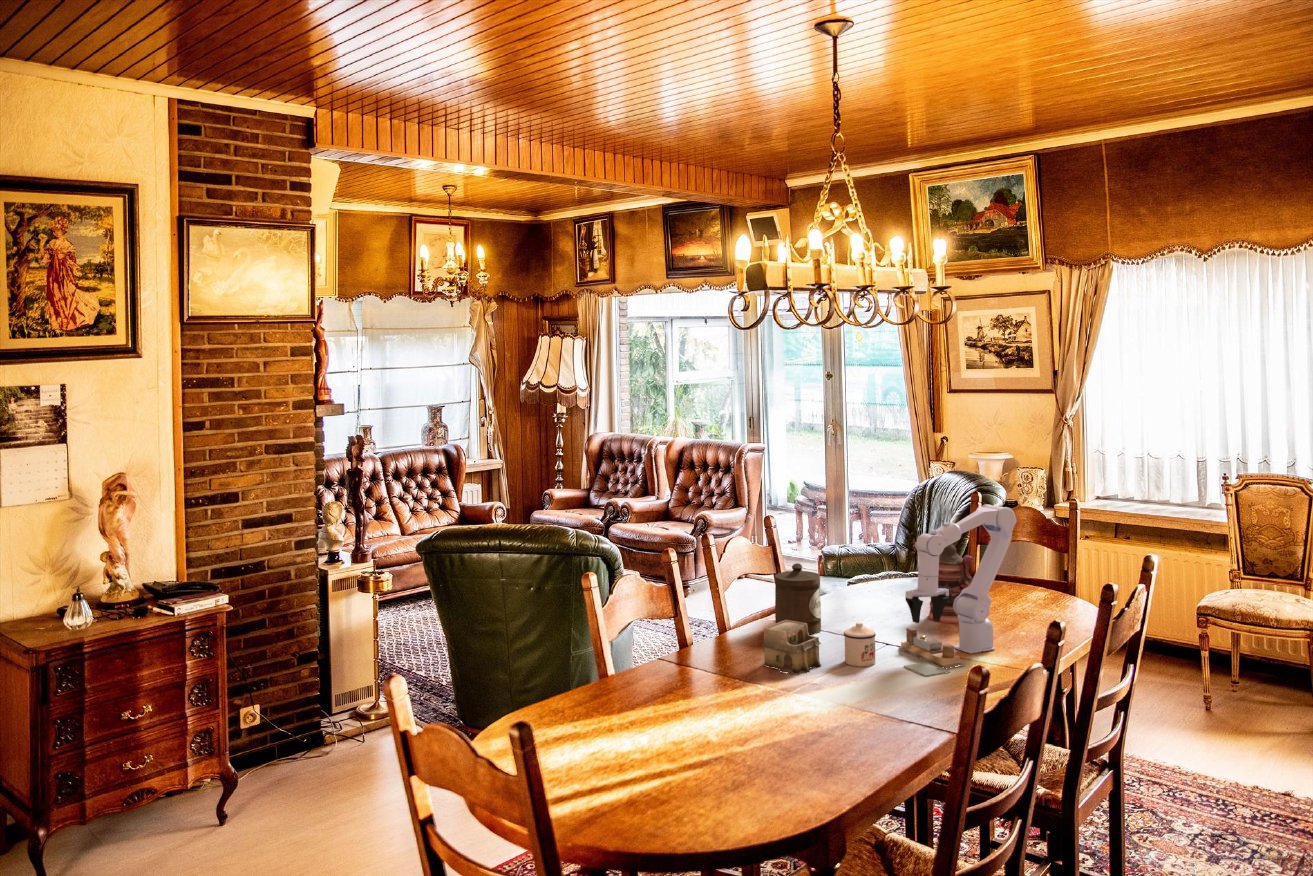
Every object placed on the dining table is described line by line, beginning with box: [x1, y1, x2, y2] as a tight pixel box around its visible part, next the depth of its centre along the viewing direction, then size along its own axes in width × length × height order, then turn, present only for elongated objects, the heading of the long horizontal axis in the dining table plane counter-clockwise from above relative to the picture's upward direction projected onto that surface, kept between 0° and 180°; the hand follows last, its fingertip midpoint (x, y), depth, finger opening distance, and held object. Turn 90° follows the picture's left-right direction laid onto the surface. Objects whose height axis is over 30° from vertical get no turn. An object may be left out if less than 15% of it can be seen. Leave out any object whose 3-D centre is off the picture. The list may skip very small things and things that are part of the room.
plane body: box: [898, 627, 964, 670], centre depth 288 cm, size 22×6×6 cm, turn 22°
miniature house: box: [761, 620, 822, 675], centre depth 285 cm, size 15×14×11 cm
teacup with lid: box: [843, 621, 876, 668], centre depth 286 cm, size 12×9×12 cm
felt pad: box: [903, 661, 950, 677], centre depth 277 cm, size 8×10×1 cm
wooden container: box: [774, 562, 822, 635], centre depth 323 cm, size 15×15×22 cm
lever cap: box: [913, 634, 943, 652], centre depth 289 cm, size 8×4×3 cm, turn 22°
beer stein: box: [926, 543, 974, 624], centre depth 330 cm, size 17×28×18 cm
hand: (926, 621), depth 288 cm, fingers open, 7 cm apart
